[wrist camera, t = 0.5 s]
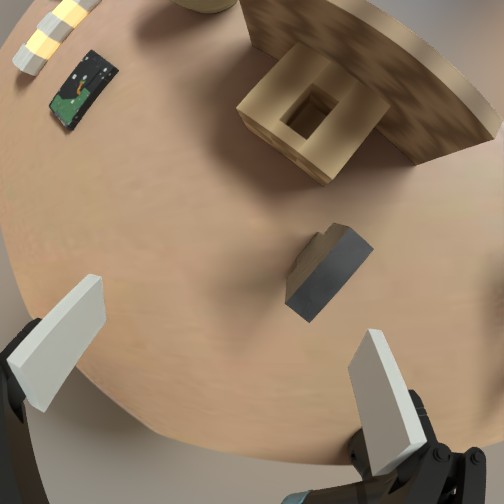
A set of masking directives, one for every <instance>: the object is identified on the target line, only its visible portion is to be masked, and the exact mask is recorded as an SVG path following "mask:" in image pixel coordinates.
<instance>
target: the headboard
mask: <svg viewBox="0 0 504 504" xmlns="http://www.w3.org/2000/svg"><path fill="white" fill-rule="evenodd" d="M239 1H240V4H241V8H242V11H243V14H244V18H245V21H246V25H247V28H248V32H249V35H250V39H251V43H252V46H254V47H256V48H258V49H259V50H261V51H263V52H265V53H267V54H269V55H270V56H272V57H274V58H276V59H277V60H279V61H278V62H277V63H276V65H275V66H274V67H273V68H272V69H271V70H270V71H269V72H268V73H267V74H266V75H265V76H264V77H263V78H262V79H261V80H260V81H259V82H258V84H257V85H256V86H255V87H254V88H253V89H252V90H251V91H250V92H249V93H248V95H247V96H246V97H245V98H244V99H243V100H242V101H241V103H240V104H239V105H238V106H237V107H236V109H237V111H238V113H239V115H240V116H241V118H242V120H243V122H244V124H245V125H246V127H247V129H249V130H250V131H251V132H253V133H254V134H256V135H257V136H258V137H260V138H261V139H263V140H264V141H265V142H267V143H268V144H269V145H271V146H272V147H274V148H275V149H276V150H278V151H279V152H280V153H282V154H283V155H284V156H286V157H287V158H288V159H289V160H291V161H292V162H293V163H295V164H296V165H297V166H298V167H300V168H301V169H302V170H304V171H305V172H306V173H307V174H309V175H310V176H311V177H312V178H314V179H315V180H316V181H317V182H318V183H320V184H321V185H322V186H323V187H324V186H325V185H326V184H328V183H329V182H330V181H332V180H333V179H334V177H335V176H336V175H337V174H338V172H339V171H340V170H341V169H342V167H343V166H344V165H345V164H346V162H347V161H348V160H349V159H350V157H351V156H352V155H353V153H354V152H355V151H356V150H357V148H358V147H359V146H360V145H361V143H362V142H363V141H364V140H365V138H366V137H367V136H368V135H369V133H370V132H371V131H372V129H373V128H375V129H377V130H378V131H379V132H380V133H381V134H382V135H384V136H385V137H386V138H387V139H388V140H389V141H390V142H391V143H393V144H394V145H395V146H396V147H397V148H398V149H399V150H400V151H401V152H402V153H403V154H404V155H405V156H407V157H408V158H409V159H410V160H411V161H412V162H413V163H414V164H415V165H419V164H422V163H425V162H428V161H430V160H433V159H436V158H439V157H442V156H445V155H448V154H451V153H454V152H457V151H460V150H463V149H466V148H469V147H472V146H475V145H478V144H481V143H484V142H487V141H490V140H493V139H495V137H496V135H497V132H498V130H499V128H500V126H501V123H502V121H503V120H502V119H501V117H500V116H499V115H498V113H497V112H496V111H495V110H494V109H493V107H492V106H491V105H490V104H489V103H488V101H487V100H486V99H485V98H484V97H483V96H482V95H481V93H480V92H479V91H478V90H477V89H476V88H475V87H474V86H473V85H472V84H471V83H470V82H469V81H468V80H467V79H466V78H465V77H464V76H463V75H462V74H461V73H460V72H459V71H458V70H457V69H456V68H455V67H454V66H453V65H452V64H451V63H450V62H449V61H448V60H447V59H445V58H444V57H443V56H442V55H441V54H440V53H439V52H438V51H436V50H435V49H434V48H433V47H432V46H430V45H429V44H428V43H427V42H426V41H424V40H423V39H422V38H420V37H419V36H418V35H416V34H415V33H414V32H413V31H411V30H410V29H409V28H407V27H406V26H404V25H403V24H402V23H400V22H399V21H397V20H396V19H394V18H393V17H391V16H390V15H388V14H387V13H385V12H384V11H382V10H381V9H379V8H377V7H376V6H374V5H372V4H371V3H369V2H367V1H366V0H239Z"/></svg>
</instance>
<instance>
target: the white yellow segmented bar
mask: <svg viewBox="0 0 504 504" xmlns="http://www.w3.org/2000/svg"><path fill="white" fill-rule="evenodd" d="M100 1H101V0H63V1H62V2H61V3H60V4H59V5H58V6H57V8H56V9H55V10H54V11H53V12H51V11H49V13H48V14H47V15H46V16H45V17H44V18H43V19H42V21H41V22H40V23H39V24H38V25H37V28H38V30H37V31H36V32H35V33H34V35H33V36H32V37H31V39H30V40H29V41H28V42H27V43H26V42H24V44H23V45H22V46H21V48H20V49H19V50H18V52H17V53H16V55H15V56H14V58H13V59H12V61H13V63H14V64H15V66H17V67H18V68H19V69H20V70H21V71H23V72H25V73H28V74H30V75H33V76H37V74H38V73H39V71H40V70H41V68H42V67H43V66H44V64H45V63H46V62H47V60H48V59H49V58H50V56H51V55H52V54H53V53H54V51H55V50H56V49H57V48H58V46H59V45H60V44H61V43H62V42H63V40H64V39H65V38H66V37H67V36H68V35H69V33H70V32H71V31H72V30H73V29H74V28H75V27H76V26H77V25H78V23H79V22H80V21H81V20H82V19H83V18H84V17H85V16H86V15H87V14H88V13H89V12H90V11H91V10H92V9H93V8H94V7H95V6H96V5H97V4H98V3H99V2H100Z"/></svg>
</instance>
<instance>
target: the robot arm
mask: <svg viewBox="0 0 504 504" xmlns="http://www.w3.org/2000/svg"><path fill="white" fill-rule="evenodd" d="M105 322H106V314H105V305H104V297H103V286H102V277H100V276H96V275H93V274H88V275H87V276H86V277H85V278H84V279H83V280H82V281H81V282H80V283H79V284H78V285H77V286H76V287H74V288H73V289H72V290H71V291H70V292H69V293H68V294H67V295H66V296H65V297H64V298H63V299H62V300H61V301H60V302H59V303H58V304H57V305H56V306H55V307H54V308H53V309H52V310H51V311H50V312H49V313H48V314H47V315H46V316H45V317H44V318H43V319H40V318H36V319H34V320H33V321H31V322H29V323H28V324H27V325H26V326H25V327H24V328H23V329H22V331H20V332H19V333H18V334H17V337H15V338H14V339H13V340H12V341H11V342H10V343H9V344H8V345H7V346H6V348H5V349H4V350H3V351H2V352H1V353H0V504H49V501H48V499H47V496H46V493H45V490H44V487H43V484H42V481H41V478H40V474H39V471H38V467H37V464H36V460H35V456H34V452H33V448H32V444H31V439H30V434H29V428H28V423H27V417H26V410H25V405H24V403H23V400H24V399H25V397H27V399H28V401H29V402H30V404H31V405H32V406H34V407H35V408H37V409H39V410H41V411H42V412H45V411H46V409H47V407H48V406H49V404H50V403H51V401H52V399H53V398H54V396H55V395H56V393H57V392H58V390H59V388H60V387H61V385H62V384H63V382H64V381H65V379H66V378H67V376H68V375H69V373H70V372H71V370H72V369H73V367H74V366H75V364H76V363H77V362H78V360H79V359H80V357H81V356H82V354H83V353H84V351H85V350H86V349H87V347H88V346H89V344H90V343H91V342H92V340H93V339H94V337H95V336H96V335H97V333H98V332H99V331H100V329H101V328H102V326H103V325H104V324H105ZM348 371H349V375H350V379H351V383H352V386H353V390H354V394H355V398H356V402H357V407H358V411H359V415H360V419H361V424H362V429H361V430H359V431H358V432H357V433H356V434H355V435H354V436H353V438H352V439H351V441H350V443H349V446H348V454H349V459H350V461H351V463H352V464H353V466H354V467H355V468H356V470H357V471H358V472H359V474H360V475H361V477H362V480H363V481H360V482H356V483H352V484H347V485H343V486H337V487H332V488H326V489H320V490H309V491H307V492H300V493H294V494H290V495H288V496H287V497H286V498H285V499H284V500H283V501H282V503H281V504H484V503H485V488H486V457H485V454H484V452H483V451H482V450H481V449H480V448H477V447H472V448H470V449H468V450H467V451H466V452H465V453H455V452H451V450H450V449H449V447H448V446H446V445H445V444H443V443H438V441H437V439H436V436H435V433H434V431H433V428H432V425H431V423H430V420H429V418H428V416H427V413H426V410H425V409H424V405H423V403H422V401H421V398H420V397H419V396H418V394H417V393H416V392H415V391H414V390H407V387H406V385H405V382H404V380H403V378H402V375H401V373H400V371H399V368H398V366H397V364H396V362H395V359H394V357H393V355H392V353H391V350H390V348H389V346H388V344H387V342H386V340H385V337H384V335H383V333H382V331H381V330H375V329H368V330H367V332H366V334H365V336H364V338H363V340H362V342H361V344H360V346H359V348H358V350H357V352H356V353H355V355H354V357H353V359H352V361H351V363H350V364H349V366H348ZM455 488H456V494H454V489H455Z"/></svg>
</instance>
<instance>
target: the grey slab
mask: <svg viewBox="0 0 504 504" xmlns="http://www.w3.org/2000/svg"><path fill="white" fill-rule="evenodd" d="M373 249H374V248H372V247H371V246H370V245H369V244H368V243H367V242H366V241H365V240H364V239H363V238H362V237H360V236H359V235H358V234H357V233H356V232H355V231H354V230H353V229H352V228H350V227H348V226H344V225H340V224H336V223H333V224H332V225H331V226H330V227H329V229H328V230H327V231H326V232H325V234H324V235H322V234H321V233H319V232H318V233H317V234H316V235H315V237H314V238H313V239H312V240H311V241H310V243H309V244H308V245H307V246H306V247H305V249H304V250H303V251H302V252H301V253H300V255H299V256H298V257H297V258H296V262H297V267H296V268H295V269H294V271H293V272H292V273H291V274H290V275H289V276H288V278H287V281H286V295H285V304H286V305H287V306H289V307H290V308H291V309H292V310H294V311H295V312H296V313H297V314H299V315H300V316H301V317H302V318H304V319H305V320H306V321H307V322H309V323H310V322H311V321H312V320H313V319H314V318H315V316H316V315H317V314H318V313H319V312H320V311H321V310H322V309H323V308H324V307H325V306H326V304H327V303H328V302H329V301H330V300H331V299H332V298H333V297H334V296H335V294H336V293H337V292H338V291H339V290H340V289H341V288H342V286H343V285H344V284H345V283H346V282H347V281H348V279H349V278H350V277H351V276H352V275H353V274H354V272H355V271H356V270H357V269H358V268H359V266H360V265H361V264H362V263H363V262H364V260H365V259H366V258H367V257H368V256H369V254H370V253H371V252H372V251H373Z"/></svg>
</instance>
